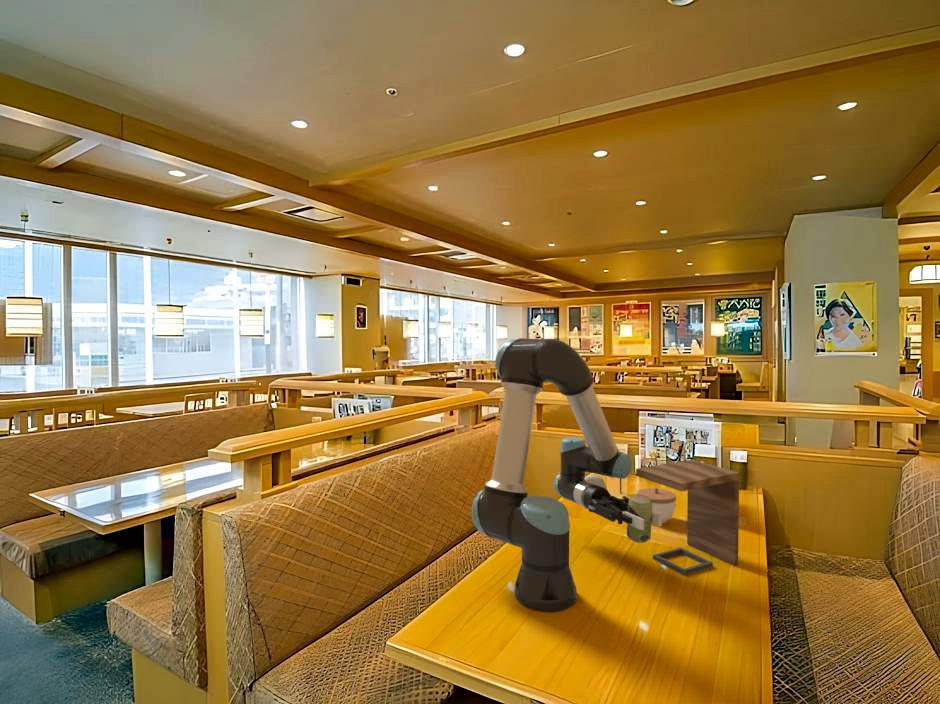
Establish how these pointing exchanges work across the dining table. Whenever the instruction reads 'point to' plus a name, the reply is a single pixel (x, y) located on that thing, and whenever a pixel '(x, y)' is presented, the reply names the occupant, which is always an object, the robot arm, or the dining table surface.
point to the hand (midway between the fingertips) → (651, 522)
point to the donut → (596, 480)
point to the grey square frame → (689, 570)
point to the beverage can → (642, 509)
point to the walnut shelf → (705, 504)
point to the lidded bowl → (661, 502)
